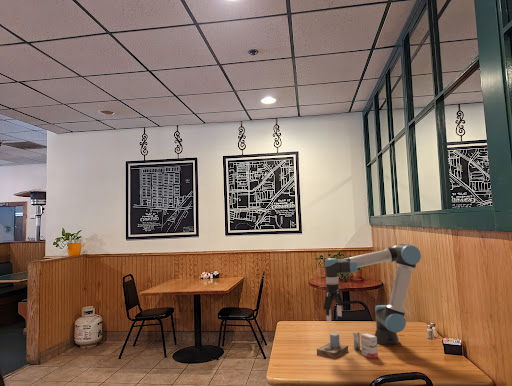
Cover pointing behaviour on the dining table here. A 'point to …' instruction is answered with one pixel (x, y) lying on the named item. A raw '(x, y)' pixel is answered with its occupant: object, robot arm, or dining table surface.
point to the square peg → (334, 340)
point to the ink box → (369, 345)
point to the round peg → (356, 340)
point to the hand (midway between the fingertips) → (334, 318)
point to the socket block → (332, 351)
